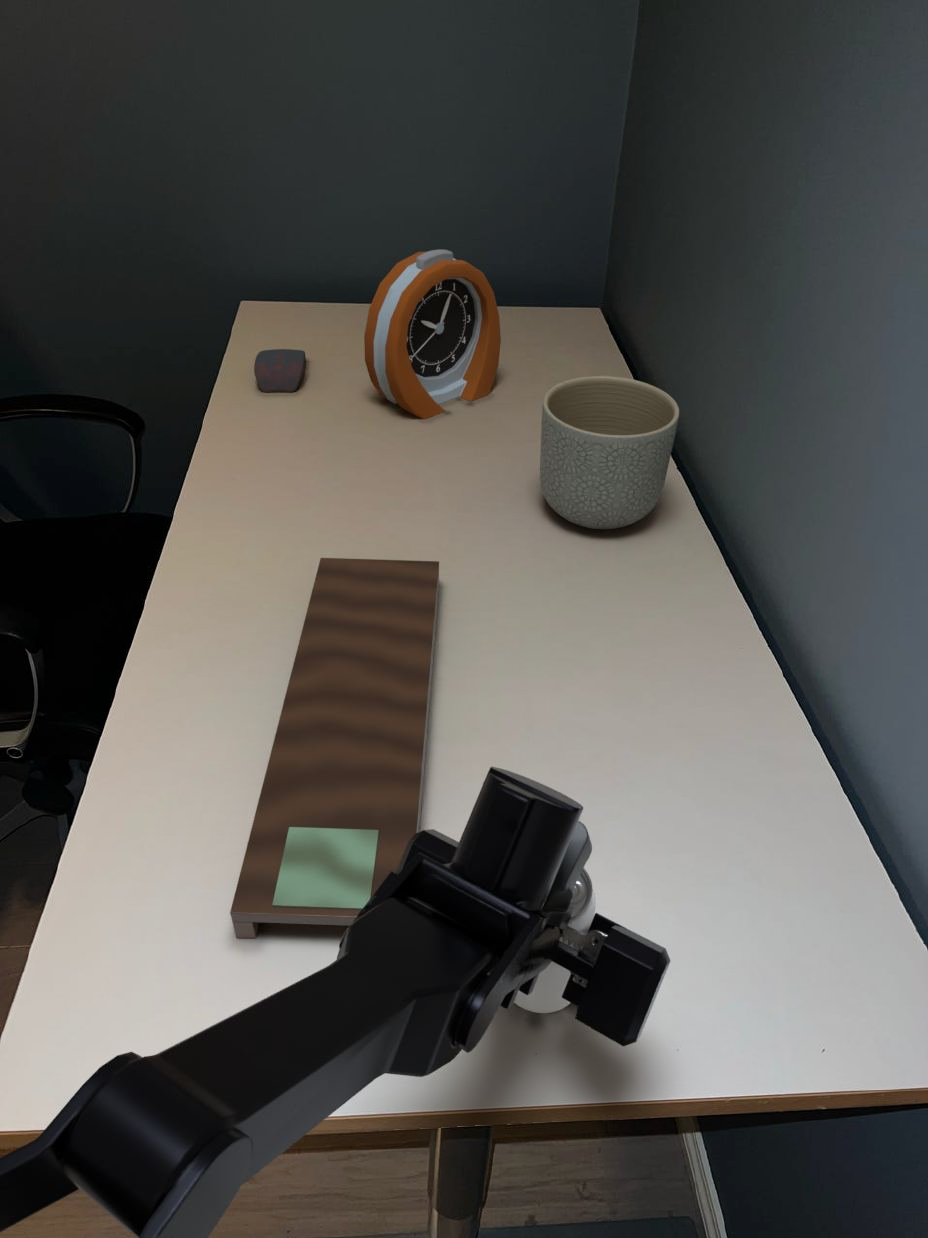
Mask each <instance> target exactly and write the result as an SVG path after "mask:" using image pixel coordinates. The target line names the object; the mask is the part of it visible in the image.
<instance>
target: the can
mask: <svg viewBox="0 0 928 1238" xmlns="http://www.w3.org/2000/svg"><path fill="white" fill-rule="evenodd" d="M572 893H573V898H572V900H571V903H570V905H569V906H571V907H573V908H574V911H573V913H572V916H571V918H570V920H569V923H568V926H570V927H572V928H574V929H575V930H577V931H579V932H581V933H583V934H587V933H588V930H589V928H590V925H591V923H592V920H593V918H594V916H595V913H596V906H597V905H596V904H597V903H596V896H595V892H594V889H593V882H592V879H591V877H590V874H589V873H588V871H587V870H586V868H585V867H584V868H583V870H582V872H581V874H580V876H579V878H578V880H577V882H576V884H575V886H574V889H573V891H572ZM560 941H561V942H563V937H561V938H560ZM563 943H565V944H567V945H568V939H567V940H566V941H565V942H563ZM569 946H570V947H572V948H574V942H573V943H572V944H571V945H569ZM574 949H576V950H578V951H579V945H578V946H577V947H576V948H574ZM570 975H571V973H570V971H569V970H567V969H565V968H563V967H562V966H560V965H558V964H556V963H554V962H551V963H550V965H549V966H548V967H547V968H546V969H545V970H543V971H542V972H541V973H540V974H539V976H538V979H537V981H536V983H535V986H534V988H533V991H532V993H530V994H529V995H526V994H524V993H522V992H521V991H518V993H517V996H516V998H515V1000H514V1003H513V1004H515V1005H517V1006H518V1007H520V1008H522V1009H524V1010H525V1011H529V1012H532V1013H538V1014H549V1013H555V1012H557V1011H561V1010H563V1009H565V1008H566V1007H568V1006H569V1005H570V1004H572V1003H571V1002H569V1001H567V1000H565V999H563V998H562V994H563V992H564V989H565V987H566V985H567V982H568V980H569V977H570Z"/></svg>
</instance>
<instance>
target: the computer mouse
mask: <svg viewBox="0 0 928 1238" xmlns="http://www.w3.org/2000/svg"><path fill="white" fill-rule="evenodd" d="M305 367H306V352H305V350H302V349H290V348H274V349H263V350H260V351H259V352H258V353H257V354H256V357H255V359H254V365H253V372H254V377H255V380H256V382H257V384H258V387H259V389H260V390H261V392H263V393H294V392H296V391H297V390H298V389H299V387H300V386H301V384H302V382H303V378H304V373H305V369H306V368H305Z"/></svg>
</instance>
